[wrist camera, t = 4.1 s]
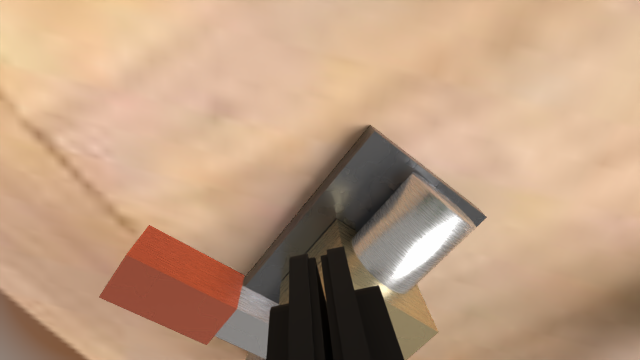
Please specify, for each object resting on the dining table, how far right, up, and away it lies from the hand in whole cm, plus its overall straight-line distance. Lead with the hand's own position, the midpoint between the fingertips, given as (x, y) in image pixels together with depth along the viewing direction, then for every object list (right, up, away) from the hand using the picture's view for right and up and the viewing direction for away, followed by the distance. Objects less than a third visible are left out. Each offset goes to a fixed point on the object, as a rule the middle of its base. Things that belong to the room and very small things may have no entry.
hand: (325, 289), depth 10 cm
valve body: (+2, -3, +17) cm, 18 cm away
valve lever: (-3, -4, +7) cm, 9 cm away
